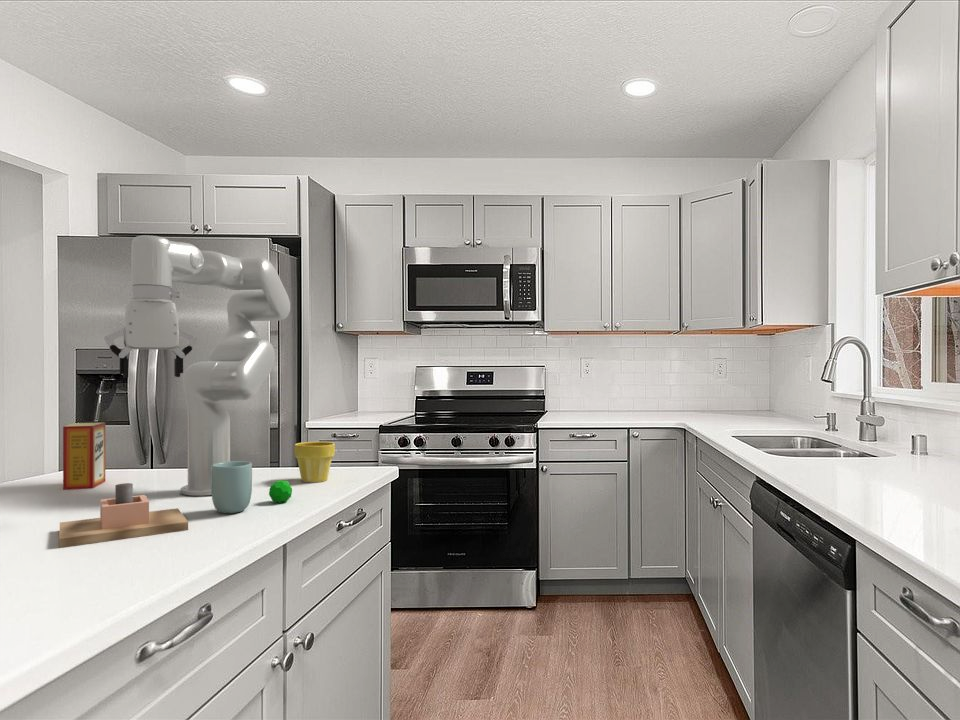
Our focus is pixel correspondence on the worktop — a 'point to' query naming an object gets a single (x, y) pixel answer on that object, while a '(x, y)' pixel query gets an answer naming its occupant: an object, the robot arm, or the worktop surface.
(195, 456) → the robot arm
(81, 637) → the worktop surface
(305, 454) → the plant pot
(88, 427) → the baking soda box
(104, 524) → the collar
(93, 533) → the post board
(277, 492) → the polyhedron
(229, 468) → the cup
